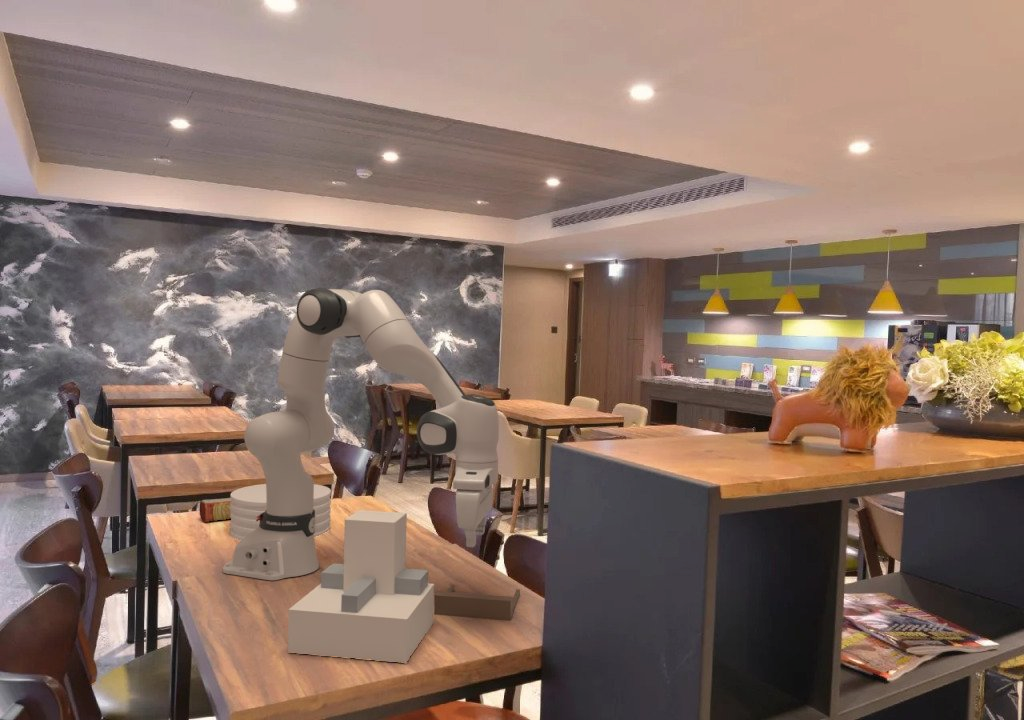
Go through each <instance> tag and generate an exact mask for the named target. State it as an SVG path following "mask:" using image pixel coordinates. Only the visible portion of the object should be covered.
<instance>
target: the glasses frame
mask: <svg viewBox="0 0 1024 720" xmlns="http://www.w3.org/2000/svg"><path fill="white" fill-rule="evenodd" d="M455 590H456V585H455V584H450V586H449V587H448V589H447V590H446V591H445V590H443V591H442V590H438V591H437V592H436V593H434V614H433V615H438V616H452V617H464V618H477V619H487V618H488V619H489V620H501V621H511V620H512V617H513V613H514V611H515V608H516V605H517V603H518V600H519V598H520V595H521V592H520V591H521V589H517V588H516V589H515V591H514V595H513V596H511V595H508V596H507V595H496V594H493V595H492V594H482V593H480V594H479V593H467V592H455Z"/></svg>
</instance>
